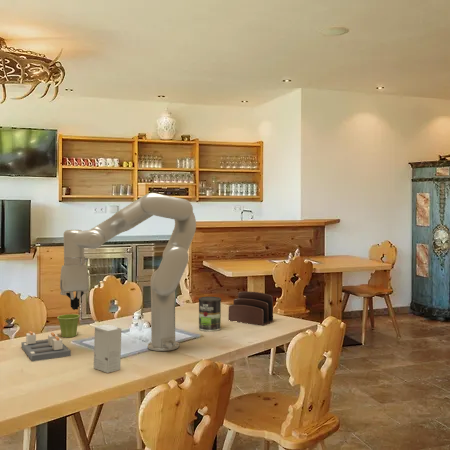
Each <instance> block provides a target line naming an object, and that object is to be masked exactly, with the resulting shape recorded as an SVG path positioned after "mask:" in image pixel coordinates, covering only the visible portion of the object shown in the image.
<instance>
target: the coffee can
mask: <svg viewBox="0 0 450 450" xmlns="http://www.w3.org/2000/svg"><path fill="white" fill-rule="evenodd" d="M221 322H222V298H221V297H218V296H202V297H198V330H199V331H201V332H217V331H220V330H221V329H222V327H221V326H222V323H221Z"/></svg>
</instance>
